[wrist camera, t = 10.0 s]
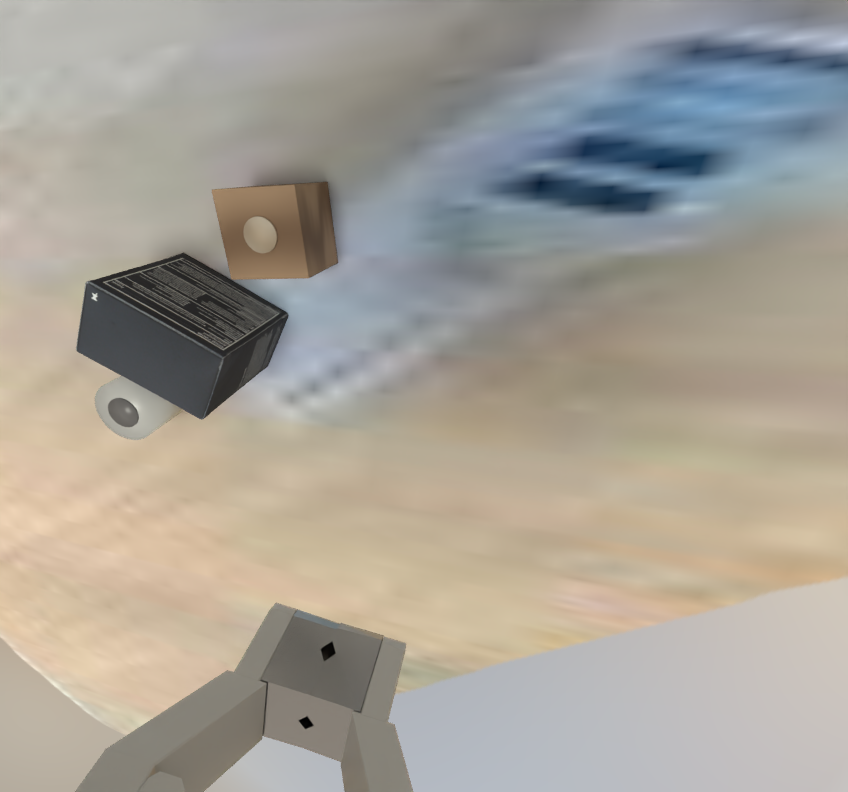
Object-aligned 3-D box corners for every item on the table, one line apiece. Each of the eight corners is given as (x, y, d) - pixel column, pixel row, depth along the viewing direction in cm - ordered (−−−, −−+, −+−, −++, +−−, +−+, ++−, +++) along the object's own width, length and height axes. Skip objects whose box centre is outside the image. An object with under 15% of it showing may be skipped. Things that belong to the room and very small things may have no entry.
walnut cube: (255, 186, 38) (209, 189, 32) (328, 181, 37) (293, 185, 31) (270, 264, 40) (230, 280, 35) (338, 262, 39) (307, 278, 34)
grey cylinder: (140, 351, 46) (89, 376, 41) (194, 366, 46) (149, 393, 41) (145, 401, 49) (97, 431, 44) (195, 416, 49) (154, 448, 43)
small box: (165, 313, 44) (69, 353, 35) (182, 249, 41) (81, 275, 32) (267, 371, 45) (200, 425, 35) (291, 312, 42) (224, 355, 32)
